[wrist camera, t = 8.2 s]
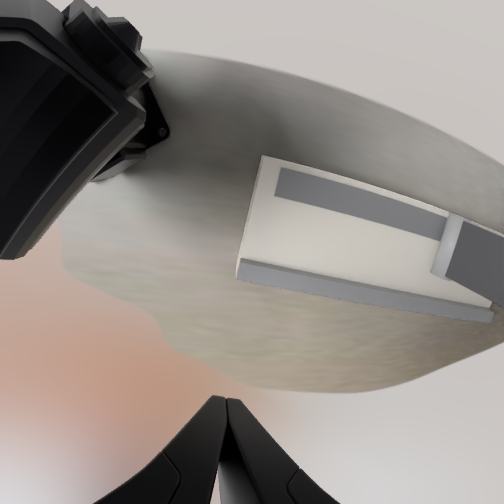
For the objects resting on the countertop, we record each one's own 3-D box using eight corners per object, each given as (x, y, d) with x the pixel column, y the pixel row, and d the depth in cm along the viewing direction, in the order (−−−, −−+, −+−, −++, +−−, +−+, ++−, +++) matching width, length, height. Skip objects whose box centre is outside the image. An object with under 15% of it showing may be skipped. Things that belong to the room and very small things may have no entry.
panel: (236, 263, 21) (235, 282, 18) (261, 155, 19) (265, 155, 16) (467, 308, 23) (489, 325, 20) (495, 231, 21) (521, 242, 18)
